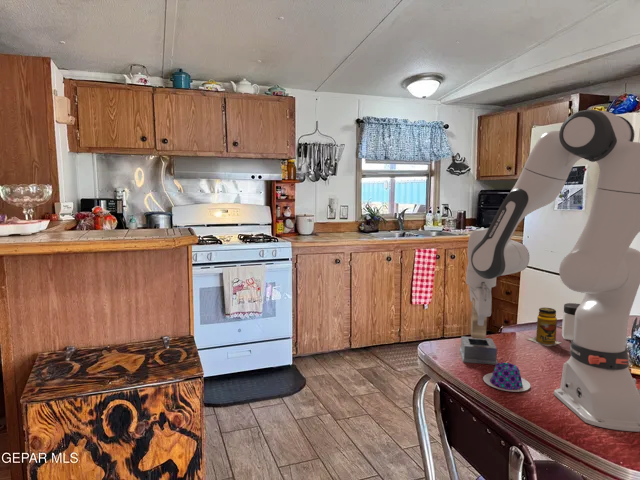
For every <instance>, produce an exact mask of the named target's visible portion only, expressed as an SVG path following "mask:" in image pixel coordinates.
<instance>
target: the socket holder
mask: <svg viewBox="0 0 640 480" xmlns="http://www.w3.org/2000/svg"><path fill="white" fill-rule="evenodd" d="M460 338H461V339H460V347H459V352H460V356H461V360H462V362H463V363H469V364H470V363H471V364H484V365H495V366H496V364H497V363H499V362H498V360H497V357H498V356H497V354H498V348H497V346H496V344H495V342H494V340H493V338H489V337H486V339H476V338H472V336H460Z"/></svg>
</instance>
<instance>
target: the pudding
mask: <svg viewBox="0 0 640 480" xmlns="http://www.w3.org/2000/svg"><path fill="white" fill-rule="evenodd" d="M482 380H483V381H484V383H485V384H486V385H488V386H489V387H492V388H495V389H497V390H500V391H505V392H513V393H514V392H519V393H520V392H525V391H528V390H529V389H530V388H531V383H530V382H529V381H528V380H527V379H525V378H523V377H522V376H521V372H520V368H519V367H518V366H517V365H515V364H513V363H509V362H498V363H497V364H496V365H495V366H494V369H493V371H492V372H491V373H486V374H485V375H484V376H483V378H482Z"/></svg>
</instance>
